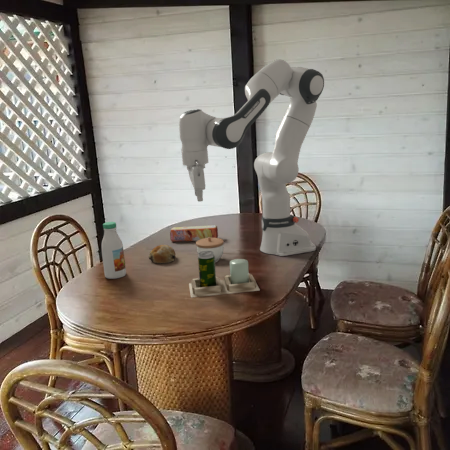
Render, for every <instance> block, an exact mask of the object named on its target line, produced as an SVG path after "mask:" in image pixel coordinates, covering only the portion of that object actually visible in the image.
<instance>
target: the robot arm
mask: <svg viewBox="0 0 450 450" xmlns="http://www.w3.org/2000/svg"><path fill="white" fill-rule="evenodd" d="M324 87H325V78H324V76H323V74H322V72H320V71H318V70H316V69H314V68H307V67H302V66H297V67H296V66H291V65H290V63H288V62H287V61H286V60H284V59H279V58H278V59H274V60H272V61H271V62H269V63H268V64H266V65H264V66H263V67H262V68H261V69H259V71H257V72H256V73H255V74H253V76H252V77H251V78H250V79H249V80H248V82H247V83H246V84H245V86H244V94H245V97H246V99H247V101H246V102H245V103H244V104H243V105H242V107H240V108H239V110H237V111H236V113H235V114H233V115H231V116H228V117H216V116H213V115H210V114H208V113H207V112H204V111H203V110H202V109H199V108H196V109H191V110H186V111H184V112H183V113H181V114H180V116H179V120H178V121H179V123H178V125H179V128H178V129H179V139H180V142H181V148H180V150H181V160H182V166H185V167H186V169H187V170H188V176H189V180H190V182H191V185H192V186H193V190H194V196H196V198H197V199H196V200H197V202H198V203H199V202H201V203H202V202H203V201H204V199H203V198H204V196H203V195H204V190H205V189H206V179H205V171H204V169H206V164H208V163H209V152H208V146H213V147H218V148H223V149H225V150H231V149H232V150H233V149H235V148H237V147H239V145H240V144H241V143H242V142H243V140H244V138H245V135H246V133H247V131H248V130H249V128H250V127H252V125H253V124H254V123H255V122H256V121H257V119H258V118H259V117H260V116H261V115H262V114H263V113H264V112H265V110H266V109H267V108H268V107H269V105H270V104H271V103H272V102H273V101H274V100H275V99H276V98H277V97H279V95H281V96H285V97H289V101H290V102H289V106H287V108H286V110H285V112H284V114H283V117H282V118H281V121H280V122H279V125H278V128H277V129H276V130H275V131H276V132H275V135H274V137H275V142H274V147H273V150H272V151H268V152H264V153H261V154H259V155H258V156H257V157H256V158H255V159H254V162H253V168H254V170H255V173H256V175H257V179H258V180H257V181H258V184H259V185H258V186H259V188H260V193H261V201H262V202H261V203H262V207H261V208H262V215H261V229H262V237H261V243H260V247H259V250H260V252H262V253H264V254H269V255H276V256H280V257H284V256H291V255H297V254H298V255H299V254H303V253H304V254H305V253H311V252H315V251H316V250H317V246H316V244H315V243H314V242H312V241H311V239H310V235H309V233H308V232H307V231H306V230H305V229H303V228H302V227H301V226H300V225H298V224H296V223H298V222H299V218H298V217H297V216H294V215H293V214H291V195H290V193H289V190H288V188H287V185H286V184H289V183H292V182H294V181H295V180H296V179H297V177H298V175H299V165H298V163H299V156H300V154H301V153H300V152H301V149H302V145H303V143H304V142H305V141H304V140H305V138H306V137H307V134H308V132H309V130H310V127H311V126H312V123H313V120H314V118H315V117H314V116H315V114H316V111H317V106H318V104H317V101H318V99H319V98H320V96H321V94H322V93H323V90H324Z"/></svg>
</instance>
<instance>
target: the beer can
mask: <svg viewBox="0 0 450 450" xmlns="http://www.w3.org/2000/svg"><path fill="white" fill-rule="evenodd" d="M197 254H198V255H197V263H198V278H199V280H200V287H209V286H216V275H217V274H216V272H217V271H216V262H215V256H214V252H212V251H202V252H199V253H197Z"/></svg>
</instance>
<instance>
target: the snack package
mask: <svg viewBox="0 0 450 450" xmlns="http://www.w3.org/2000/svg"><path fill="white" fill-rule="evenodd" d="M218 229H219V228H218V226H217V225H215V224H213V225H197V226H196V225H195V226H181V227H180V226H179V227H178V226H174V227H171V229H170V230H169V231H170V232H169V233H170V234H169V236H170V241H171V242H172V243H174V242H176V243H177V242H179V243H180V242H197V241H198V240H200V239H204V238H208V237H211V238H219V231H218Z"/></svg>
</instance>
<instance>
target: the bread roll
mask: <svg viewBox="0 0 450 450" xmlns="http://www.w3.org/2000/svg"><path fill="white" fill-rule="evenodd" d="M148 259H149V260H150V261H152V263H153V262H154V264H158V263H160V264H168V262H169V263H170V262H171V261H173V262H174V261H175V259H176V251H175V250H174V248H173V246H170V245H168V244H159V245H157V246H155V247H154V248H153V249H152V250H151V251H150V252H149V254H148ZM171 263H172V262H171Z"/></svg>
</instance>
